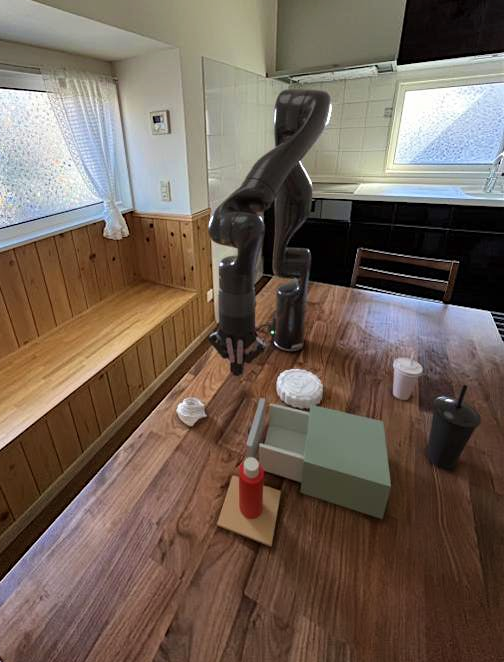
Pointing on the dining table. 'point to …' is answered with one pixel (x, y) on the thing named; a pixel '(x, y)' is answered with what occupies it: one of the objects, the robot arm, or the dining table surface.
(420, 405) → the dining table surface
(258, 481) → the ketchup bottle
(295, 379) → the mooncake
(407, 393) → the smoothie
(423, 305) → the dining table surface
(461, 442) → the drinking cup
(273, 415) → the drawer
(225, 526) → the cork coaster
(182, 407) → the whipped cream
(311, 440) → the cabinet
